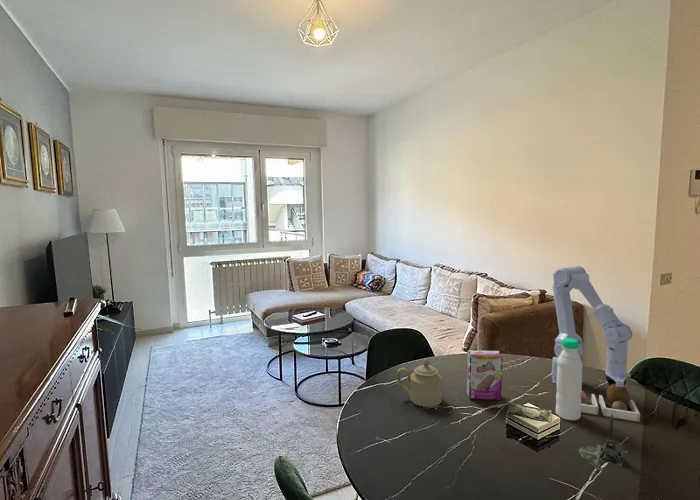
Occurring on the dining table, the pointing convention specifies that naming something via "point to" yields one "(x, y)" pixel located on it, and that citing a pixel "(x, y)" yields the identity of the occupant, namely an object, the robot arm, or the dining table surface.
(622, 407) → the walnut ball
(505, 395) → the dining table surface
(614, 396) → the fruit
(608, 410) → the trough right
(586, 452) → the eiffel tower figurine
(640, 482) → the dining table surface
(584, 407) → the trough left
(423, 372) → the sugar bowl
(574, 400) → the water bottle
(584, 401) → the walnut ball
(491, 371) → the candy bar box
